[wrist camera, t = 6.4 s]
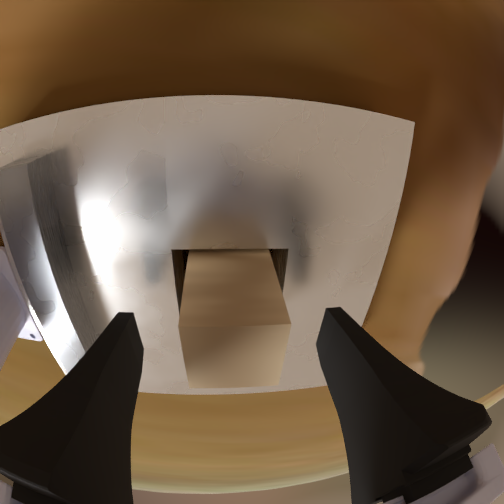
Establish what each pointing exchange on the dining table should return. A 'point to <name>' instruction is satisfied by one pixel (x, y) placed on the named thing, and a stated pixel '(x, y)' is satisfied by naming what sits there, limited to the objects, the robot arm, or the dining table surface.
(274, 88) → the dining table surface
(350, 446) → the robot arm
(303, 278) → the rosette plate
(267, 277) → the peg
